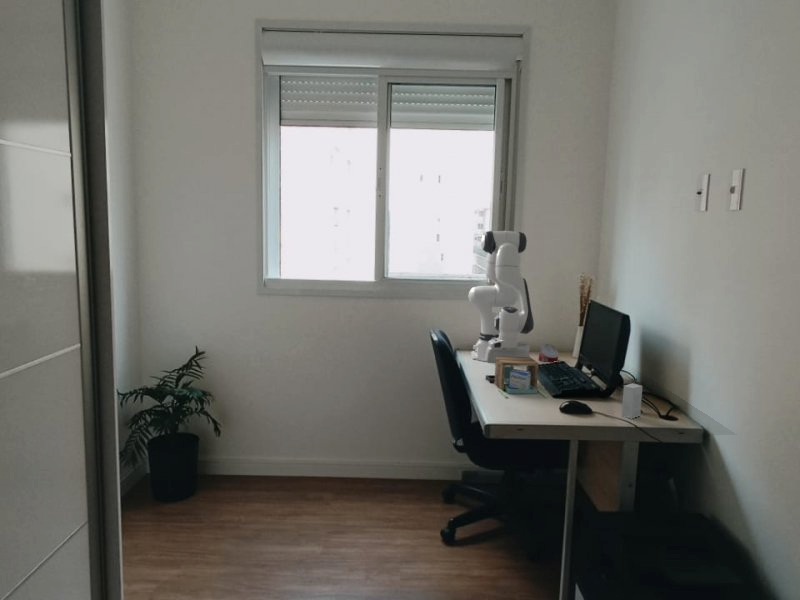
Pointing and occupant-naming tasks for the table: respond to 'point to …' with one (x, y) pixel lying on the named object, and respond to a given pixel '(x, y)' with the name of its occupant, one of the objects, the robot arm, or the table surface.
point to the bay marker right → (542, 393)
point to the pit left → (490, 378)
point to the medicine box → (519, 379)
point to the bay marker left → (502, 393)
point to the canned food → (548, 353)
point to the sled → (512, 391)
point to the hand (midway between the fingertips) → (506, 372)
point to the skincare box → (632, 400)
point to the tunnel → (515, 361)
